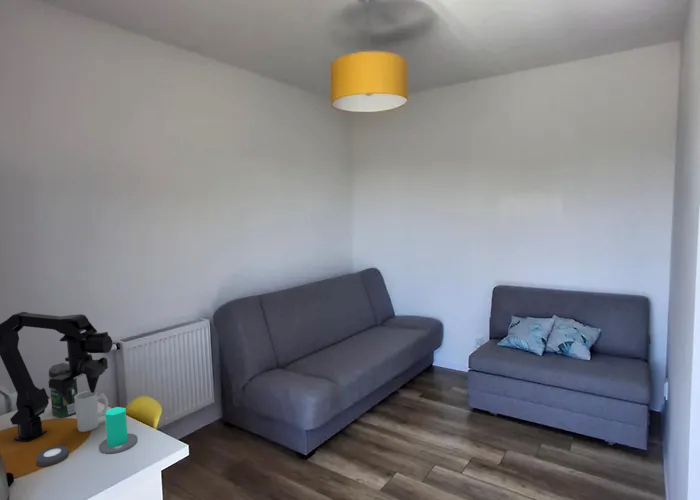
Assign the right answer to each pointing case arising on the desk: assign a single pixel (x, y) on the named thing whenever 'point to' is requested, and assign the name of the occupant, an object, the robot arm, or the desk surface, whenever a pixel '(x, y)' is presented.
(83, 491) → the desk surface
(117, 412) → the candle
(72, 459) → the desk surface
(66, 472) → the desk surface
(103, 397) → the mug
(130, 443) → the slate coaster
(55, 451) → the dark grey washer
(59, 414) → the coffee jar
